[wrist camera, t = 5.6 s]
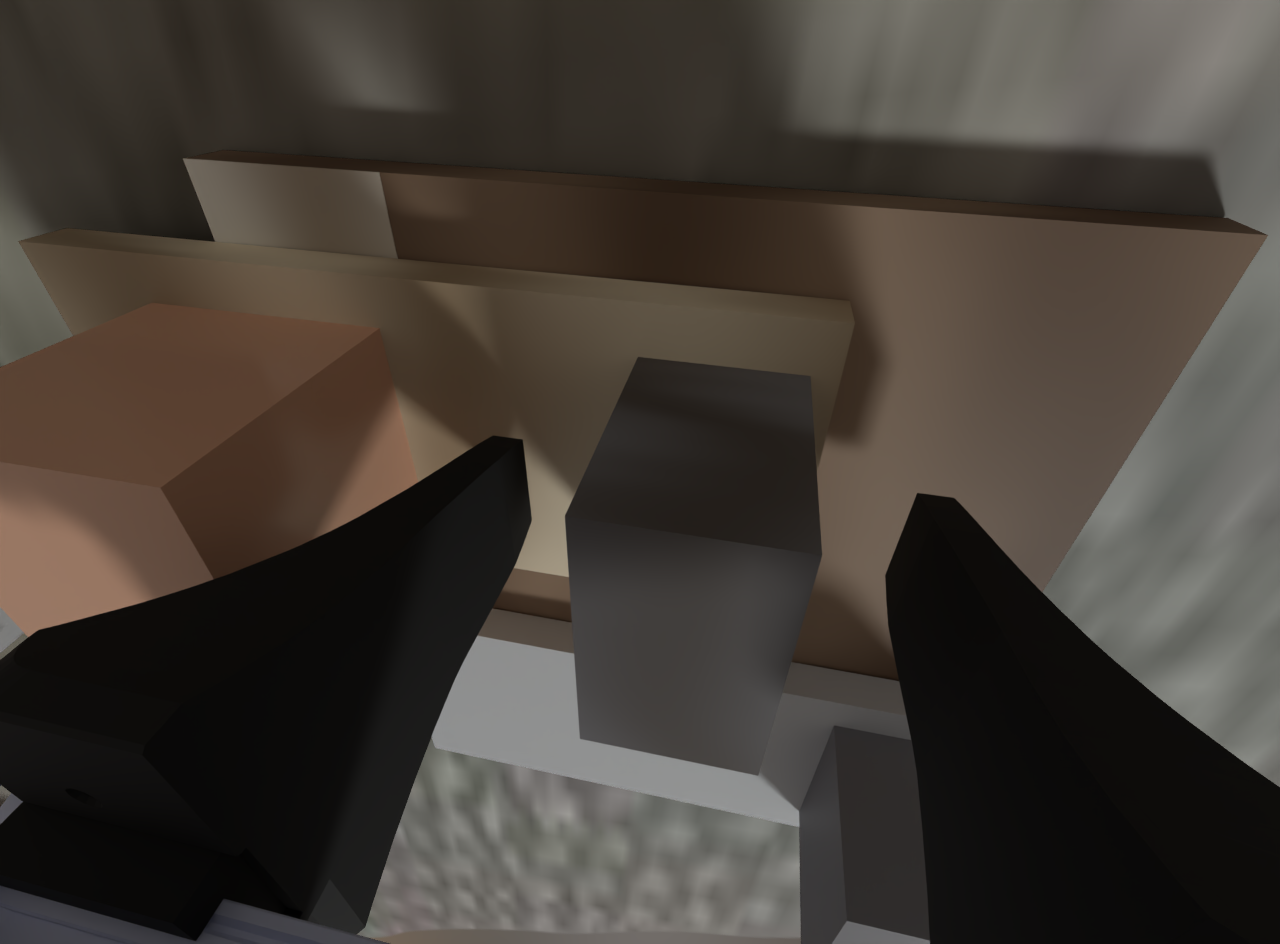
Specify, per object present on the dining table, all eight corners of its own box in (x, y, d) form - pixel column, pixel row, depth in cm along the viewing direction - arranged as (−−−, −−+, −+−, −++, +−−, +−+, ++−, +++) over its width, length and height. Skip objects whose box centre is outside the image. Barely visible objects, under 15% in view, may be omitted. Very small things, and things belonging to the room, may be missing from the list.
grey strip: (448, 722, 22) (366, 888, 18) (408, 593, 18) (289, 770, 13) (901, 817, 20) (932, 1034, 15) (978, 695, 15) (1050, 947, 11)
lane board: (419, 708, 24) (406, 732, 23) (223, 150, 12) (182, 158, 11) (884, 805, 21) (888, 836, 21) (1227, 218, 9) (1269, 234, 9)
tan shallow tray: (204, 488, 17) (5, 644, 12) (66, 228, 13) (-304, 329, 8) (781, 581, 14) (779, 811, 10) (850, 300, 10) (893, 491, 6)
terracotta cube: (244, 495, 15) (50, 661, 11) (151, 302, 12) (-161, 435, 8) (428, 524, 14) (291, 713, 10) (379, 327, 11) (159, 487, 7)
